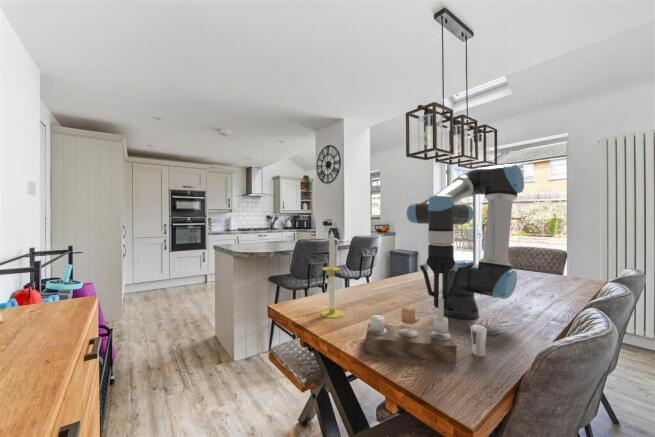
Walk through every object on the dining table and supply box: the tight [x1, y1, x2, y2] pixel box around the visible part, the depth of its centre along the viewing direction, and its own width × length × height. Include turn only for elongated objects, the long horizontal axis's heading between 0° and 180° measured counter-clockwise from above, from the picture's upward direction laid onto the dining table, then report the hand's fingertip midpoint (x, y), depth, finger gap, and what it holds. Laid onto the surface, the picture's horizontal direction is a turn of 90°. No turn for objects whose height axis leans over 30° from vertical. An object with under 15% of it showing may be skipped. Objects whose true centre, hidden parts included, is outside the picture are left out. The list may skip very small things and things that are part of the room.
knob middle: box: [400, 306, 416, 325], centre depth 94 cm, size 4×4×4 cm
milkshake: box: [468, 323, 488, 358], centre depth 90 cm, size 4×5×10 cm
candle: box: [320, 229, 344, 319], centre depth 126 cm, size 10×10×38 cm
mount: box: [364, 323, 457, 364], centre depth 94 cm, size 27×12×5 cm, turn 77°
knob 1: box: [370, 314, 385, 332], centre depth 96 cm, size 4×4×4 cm
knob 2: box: [432, 315, 449, 334], centre depth 92 cm, size 4×4×4 cm
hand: (440, 317), depth 92 cm, fingers closed
